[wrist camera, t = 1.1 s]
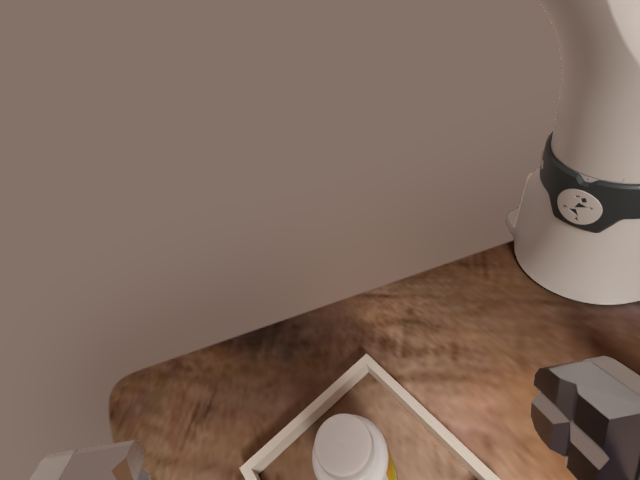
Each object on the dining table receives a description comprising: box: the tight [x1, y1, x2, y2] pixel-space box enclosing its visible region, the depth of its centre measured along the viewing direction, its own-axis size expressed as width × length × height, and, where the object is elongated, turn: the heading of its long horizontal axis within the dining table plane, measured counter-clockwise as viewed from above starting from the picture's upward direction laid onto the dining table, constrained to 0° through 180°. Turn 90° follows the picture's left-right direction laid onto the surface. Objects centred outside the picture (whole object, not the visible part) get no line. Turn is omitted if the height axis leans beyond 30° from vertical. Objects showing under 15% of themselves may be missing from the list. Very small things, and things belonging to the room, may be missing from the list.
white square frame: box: [239, 353, 500, 480], centre depth 32 cm, size 16×16×2 cm
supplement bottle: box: [312, 413, 398, 480], centre depth 29 cm, size 6×6×10 cm
